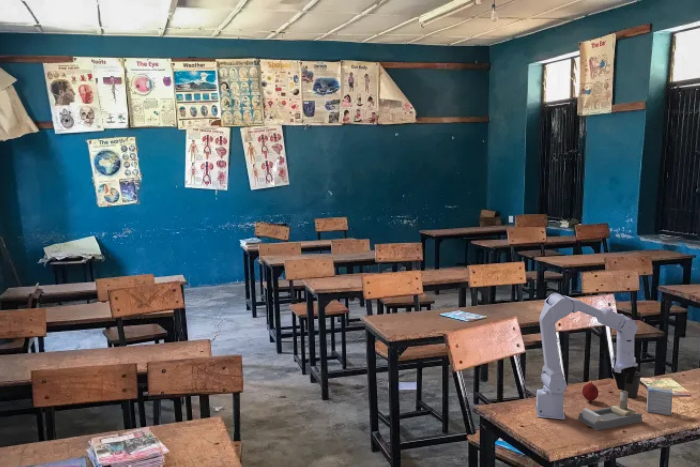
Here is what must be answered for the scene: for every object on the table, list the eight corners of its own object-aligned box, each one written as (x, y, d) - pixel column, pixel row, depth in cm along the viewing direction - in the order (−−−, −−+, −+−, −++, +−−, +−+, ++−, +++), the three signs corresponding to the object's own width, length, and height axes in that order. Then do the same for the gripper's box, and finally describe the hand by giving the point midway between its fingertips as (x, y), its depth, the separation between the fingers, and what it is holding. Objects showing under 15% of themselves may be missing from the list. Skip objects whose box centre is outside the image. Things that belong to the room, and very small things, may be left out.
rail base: (597, 430, 194) (597, 418, 193) (578, 420, 202) (578, 407, 202) (641, 421, 201) (642, 409, 200) (621, 411, 209) (622, 399, 208)
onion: (600, 404, 215) (601, 384, 215) (585, 404, 216) (586, 384, 215) (594, 398, 221) (595, 378, 220) (579, 398, 221) (580, 378, 221)
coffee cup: (623, 390, 230) (624, 366, 229) (644, 395, 224) (645, 371, 223) (614, 395, 224) (615, 370, 223) (636, 401, 218) (637, 376, 217)
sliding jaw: (624, 418, 200) (625, 396, 199) (611, 411, 205) (612, 390, 204) (635, 415, 201) (636, 394, 200) (622, 409, 207) (623, 388, 206)
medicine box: (670, 411, 209) (671, 388, 208) (671, 416, 205) (672, 392, 204) (646, 407, 212) (647, 385, 212) (646, 412, 208) (648, 389, 207)
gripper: (629, 357, 197) (629, 395, 198) (644, 347, 207) (644, 383, 208) (608, 353, 202) (608, 390, 203) (624, 343, 212) (624, 378, 213)
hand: (625, 386), depth 206 cm, fingers open, 7 cm apart
